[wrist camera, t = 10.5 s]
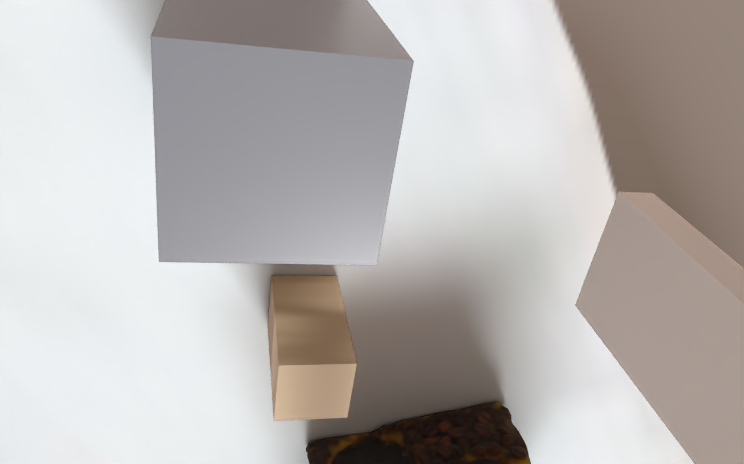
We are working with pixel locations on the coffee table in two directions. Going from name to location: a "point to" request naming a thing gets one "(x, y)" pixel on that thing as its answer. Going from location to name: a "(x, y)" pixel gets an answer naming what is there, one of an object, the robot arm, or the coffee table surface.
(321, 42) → the grey matte cube
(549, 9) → the coffee table surface
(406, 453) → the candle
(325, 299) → the oak post
